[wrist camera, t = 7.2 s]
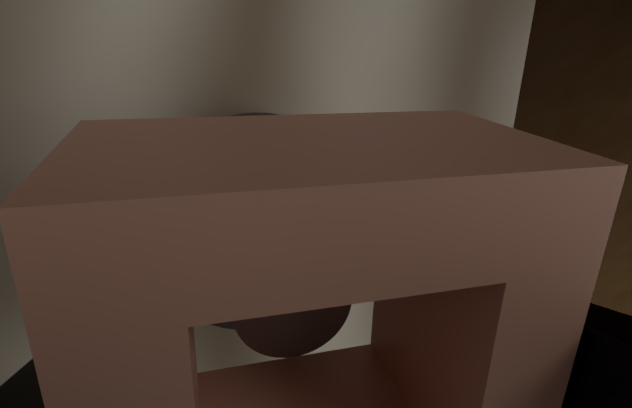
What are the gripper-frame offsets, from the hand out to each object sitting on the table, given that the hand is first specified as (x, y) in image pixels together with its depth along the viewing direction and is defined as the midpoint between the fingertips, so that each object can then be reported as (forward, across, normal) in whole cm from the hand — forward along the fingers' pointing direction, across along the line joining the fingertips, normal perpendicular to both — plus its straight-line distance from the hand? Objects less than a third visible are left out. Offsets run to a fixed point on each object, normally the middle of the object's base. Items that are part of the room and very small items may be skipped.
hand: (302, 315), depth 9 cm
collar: (+1, 0, 0) cm, 1 cm away
